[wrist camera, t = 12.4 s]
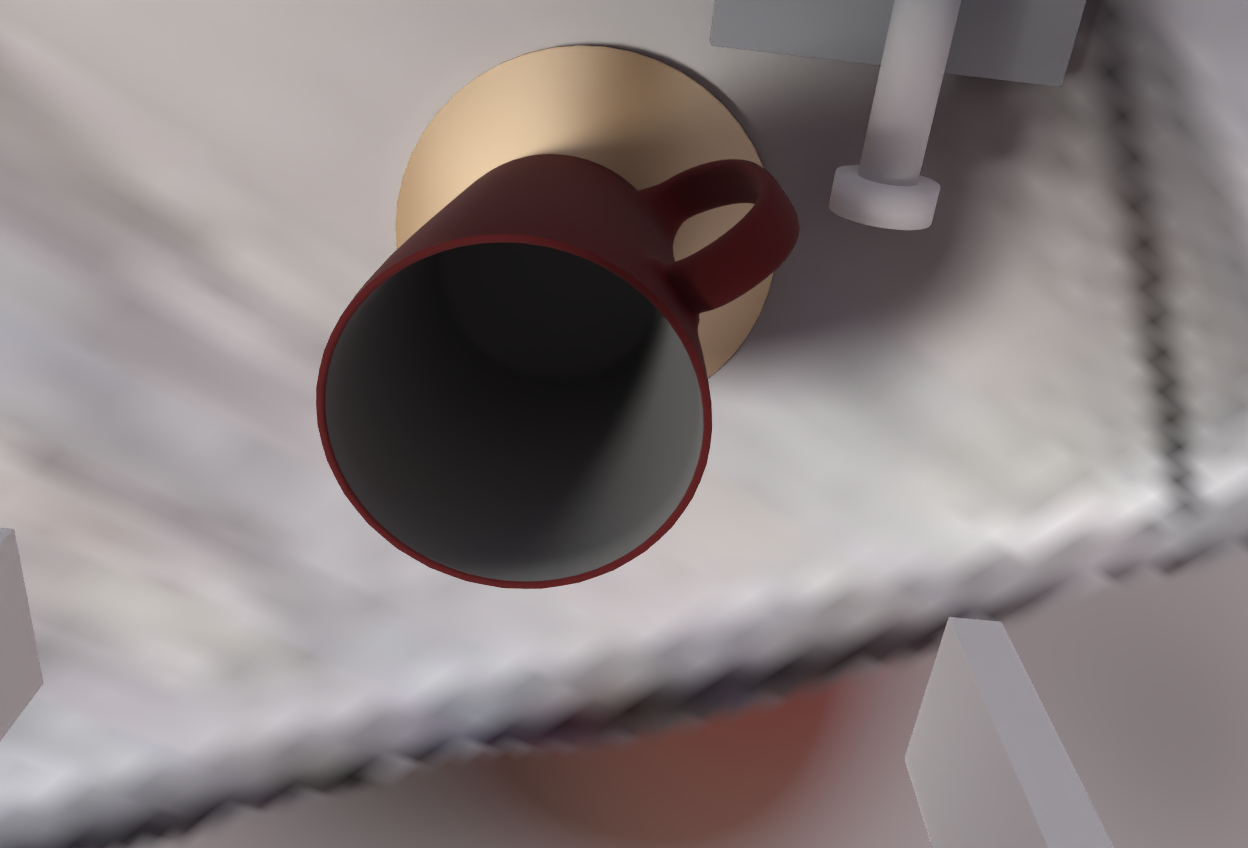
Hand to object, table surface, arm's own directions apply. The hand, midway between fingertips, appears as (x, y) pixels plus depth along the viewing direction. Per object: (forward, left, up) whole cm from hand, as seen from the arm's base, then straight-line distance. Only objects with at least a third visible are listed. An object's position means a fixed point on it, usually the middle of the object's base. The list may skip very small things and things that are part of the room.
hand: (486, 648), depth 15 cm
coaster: (0, 0, -20) cm, 20 cm away
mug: (+1, 0, -20) cm, 20 cm away
